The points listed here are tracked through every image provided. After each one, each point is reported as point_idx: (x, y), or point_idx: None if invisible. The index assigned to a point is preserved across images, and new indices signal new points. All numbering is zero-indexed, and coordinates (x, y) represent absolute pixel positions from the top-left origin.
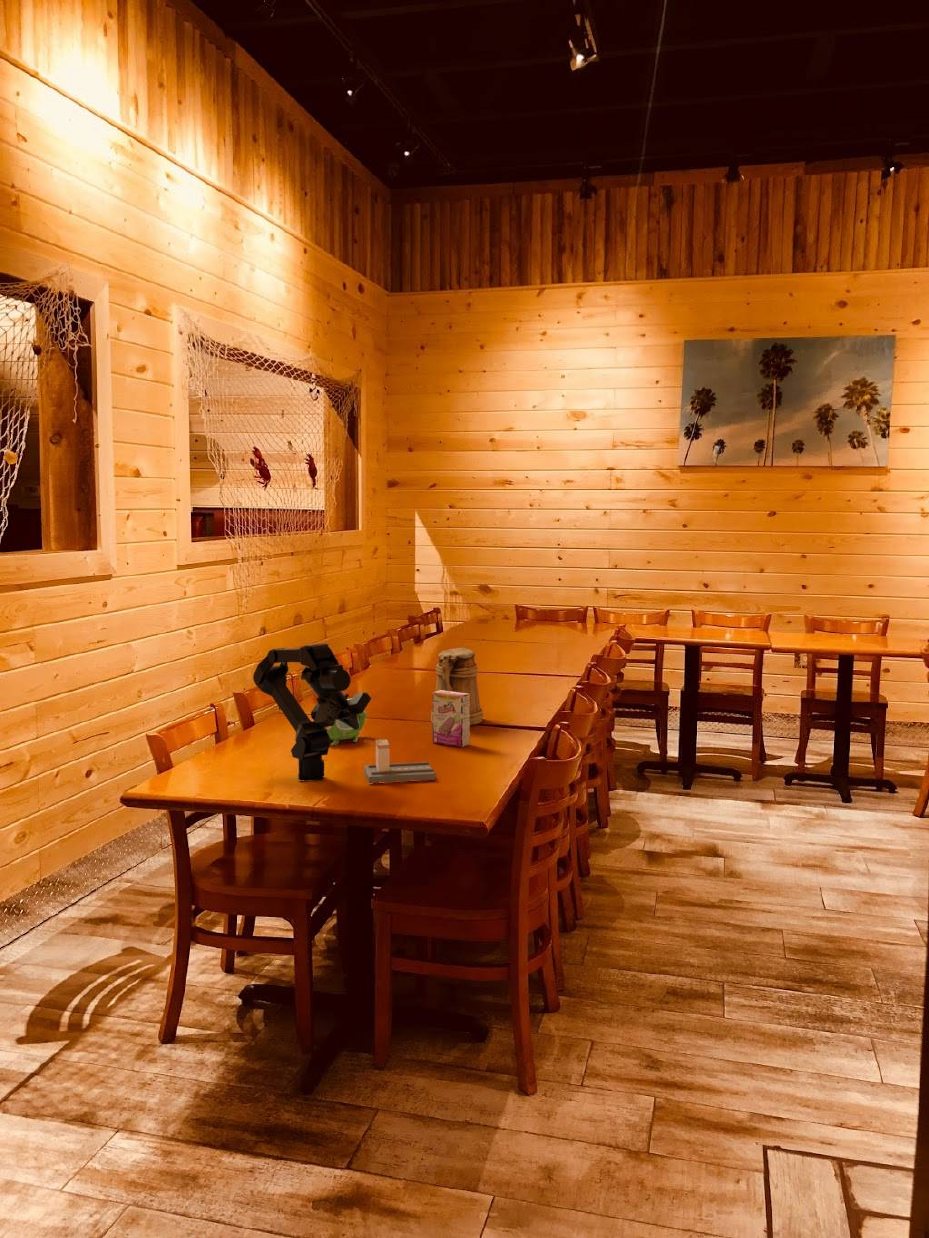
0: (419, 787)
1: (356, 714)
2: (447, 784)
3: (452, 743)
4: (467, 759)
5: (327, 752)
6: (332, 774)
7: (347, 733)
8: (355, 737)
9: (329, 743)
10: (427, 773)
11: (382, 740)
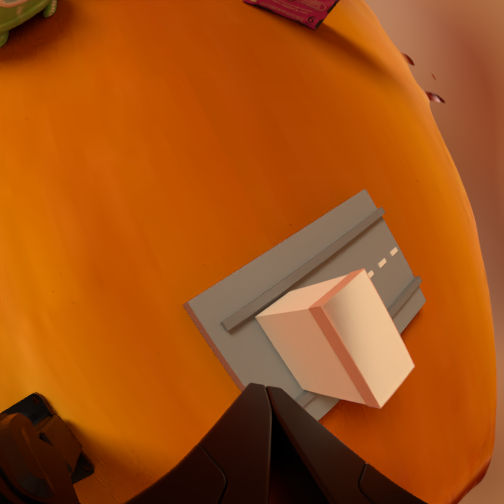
0: (405, 379)
1: (376, 482)
2: (436, 320)
3: (296, 17)
4: (374, 106)
5: (64, 462)
6: (76, 377)
7: (29, 7)
8: (50, 3)
9: (76, 498)
10: (415, 310)
11: (357, 300)
